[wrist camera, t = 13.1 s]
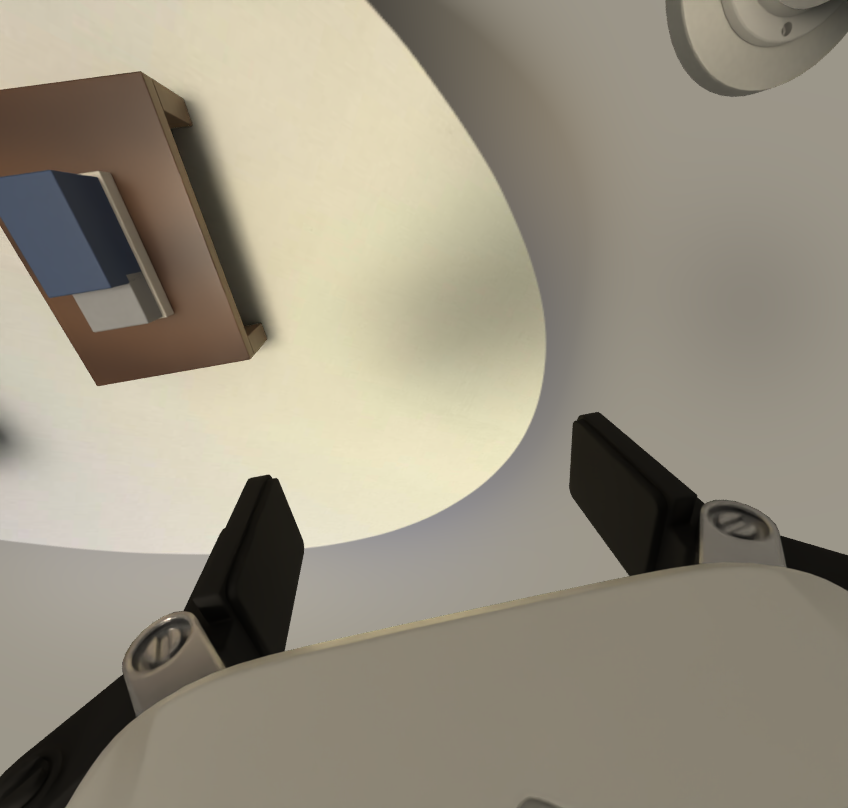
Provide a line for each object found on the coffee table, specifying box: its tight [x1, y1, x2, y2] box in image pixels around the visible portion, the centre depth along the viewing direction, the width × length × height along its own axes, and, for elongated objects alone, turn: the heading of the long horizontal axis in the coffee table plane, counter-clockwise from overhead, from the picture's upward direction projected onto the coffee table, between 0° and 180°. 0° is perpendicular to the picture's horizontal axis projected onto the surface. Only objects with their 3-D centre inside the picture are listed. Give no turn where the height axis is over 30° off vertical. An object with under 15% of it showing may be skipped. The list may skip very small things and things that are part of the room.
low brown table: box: [0, 71, 267, 386], centre depth 28 cm, size 18×12×6 cm, turn 8°
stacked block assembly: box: [0, 170, 174, 332], centre depth 23 cm, size 9×4×5 cm, turn 8°
